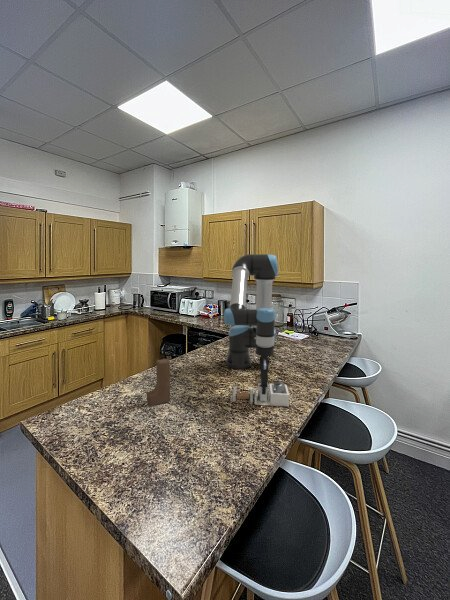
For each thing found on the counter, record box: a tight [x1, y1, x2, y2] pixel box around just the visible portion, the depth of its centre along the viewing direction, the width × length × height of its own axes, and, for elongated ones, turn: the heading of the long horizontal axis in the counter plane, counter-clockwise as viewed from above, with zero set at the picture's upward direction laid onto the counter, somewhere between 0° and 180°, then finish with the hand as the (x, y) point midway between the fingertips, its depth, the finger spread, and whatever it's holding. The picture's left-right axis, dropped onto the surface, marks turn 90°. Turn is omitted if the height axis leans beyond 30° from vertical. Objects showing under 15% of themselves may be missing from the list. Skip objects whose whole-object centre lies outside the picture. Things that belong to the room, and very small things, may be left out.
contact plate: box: [236, 391, 250, 400], centre depth 123 cm, size 3×5×2 cm, turn 85°
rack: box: [253, 383, 290, 407], centre depth 121 cm, size 10×14×6 cm
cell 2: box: [273, 380, 285, 394], centre depth 120 cm, size 4×4×8 cm
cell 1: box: [257, 380, 269, 402], centre depth 121 cm, size 4×4×8 cm
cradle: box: [232, 386, 254, 403], centre depth 123 cm, size 9×9×4 cm
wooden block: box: [146, 358, 171, 407], centre depth 120 cm, size 9×4×18 cm, turn 121°
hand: (263, 397), depth 121 cm, fingers open, 4 cm apart
